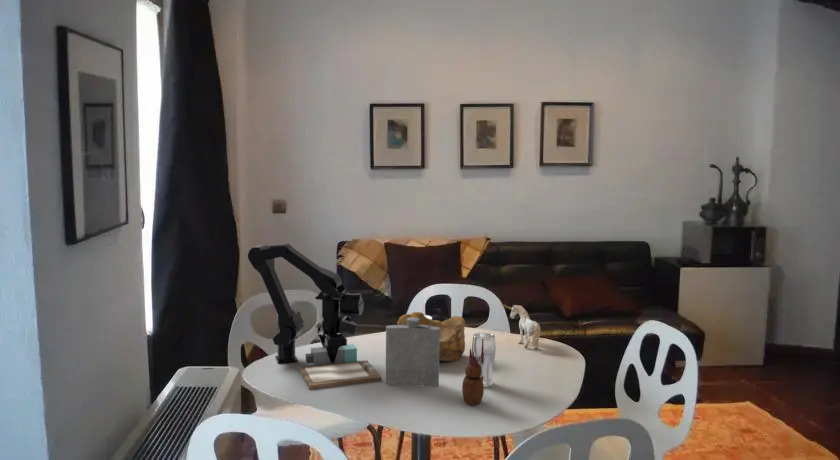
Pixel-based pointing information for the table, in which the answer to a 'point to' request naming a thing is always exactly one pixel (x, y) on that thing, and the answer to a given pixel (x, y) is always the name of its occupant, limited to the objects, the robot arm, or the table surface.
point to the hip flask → (412, 354)
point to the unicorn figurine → (526, 326)
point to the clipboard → (339, 374)
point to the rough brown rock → (444, 334)
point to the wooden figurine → (473, 382)
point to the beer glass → (484, 355)
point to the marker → (322, 358)
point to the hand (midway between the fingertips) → (330, 359)
